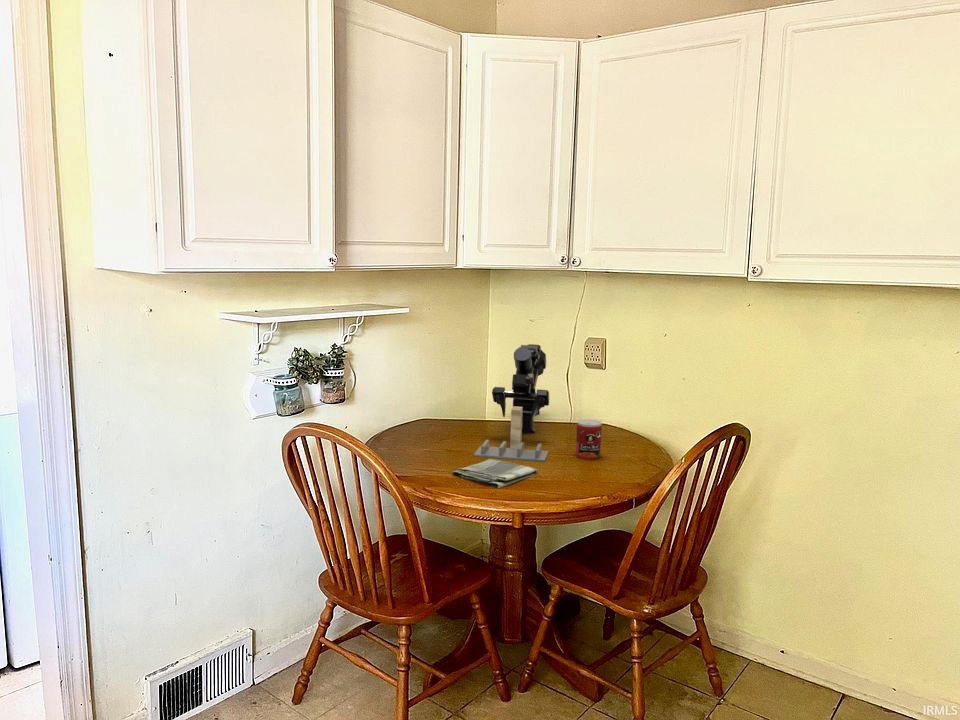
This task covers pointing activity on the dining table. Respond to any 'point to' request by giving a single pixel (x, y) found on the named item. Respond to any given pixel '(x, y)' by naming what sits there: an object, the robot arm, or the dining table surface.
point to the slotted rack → (511, 452)
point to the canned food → (588, 439)
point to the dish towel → (495, 473)
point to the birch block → (516, 427)
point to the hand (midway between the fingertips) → (517, 417)
